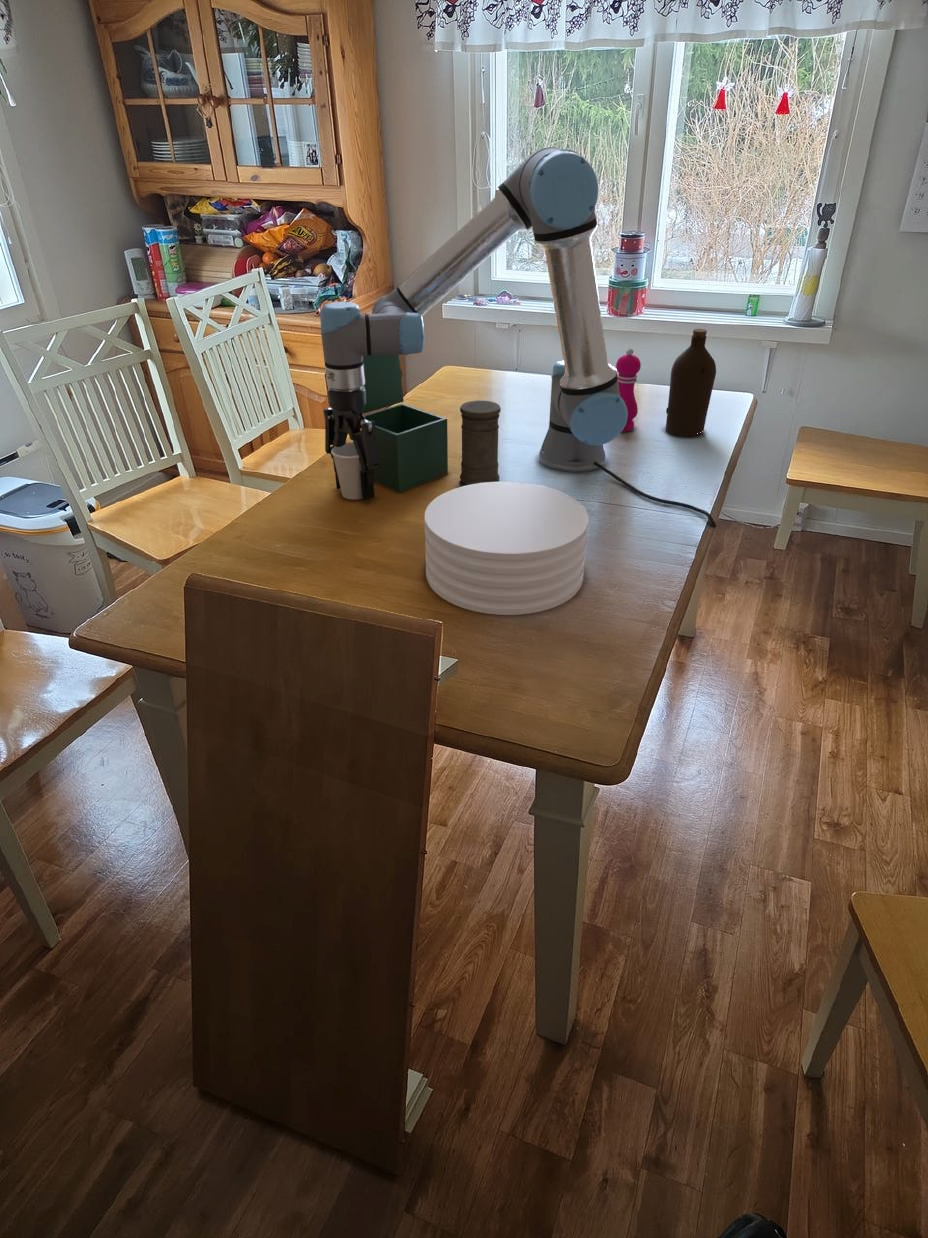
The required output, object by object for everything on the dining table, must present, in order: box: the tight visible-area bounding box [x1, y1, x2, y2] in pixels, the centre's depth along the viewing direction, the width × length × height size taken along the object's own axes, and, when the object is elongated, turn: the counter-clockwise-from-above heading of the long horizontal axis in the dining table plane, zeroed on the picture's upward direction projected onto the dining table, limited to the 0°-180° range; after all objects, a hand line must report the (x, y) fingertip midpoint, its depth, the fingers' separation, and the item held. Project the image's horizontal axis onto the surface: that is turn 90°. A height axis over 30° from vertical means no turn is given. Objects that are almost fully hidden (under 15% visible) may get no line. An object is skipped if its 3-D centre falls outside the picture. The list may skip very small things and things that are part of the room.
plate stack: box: [423, 481, 590, 616], centre depth 138 cm, size 28×28×12 cm
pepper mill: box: [615, 347, 642, 433], centre depth 199 cm, size 7×7×20 cm
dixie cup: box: [331, 441, 363, 500], centre depth 166 cm, size 8×8×10 cm
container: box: [458, 399, 502, 487], centre depth 168 cm, size 9×9×18 cm
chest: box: [355, 403, 449, 493], centre depth 175 cm, size 15×15×13 cm
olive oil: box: [665, 328, 717, 439], centre depth 195 cm, size 11×11×25 cm
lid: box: [363, 341, 405, 415], centre depth 173 cm, size 15×15×5 cm
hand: (355, 492), depth 169 cm, fingers closed on dixie cup, 8 cm apart
